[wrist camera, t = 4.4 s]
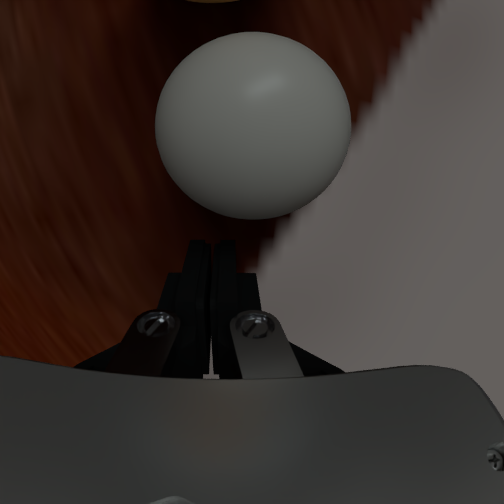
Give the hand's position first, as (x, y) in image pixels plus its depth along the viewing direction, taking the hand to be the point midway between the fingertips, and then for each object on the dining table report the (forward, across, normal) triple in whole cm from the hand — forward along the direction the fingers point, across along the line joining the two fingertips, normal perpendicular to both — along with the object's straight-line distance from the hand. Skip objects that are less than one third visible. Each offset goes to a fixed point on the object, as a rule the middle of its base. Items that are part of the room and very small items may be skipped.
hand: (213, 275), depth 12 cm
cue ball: (-1, -1, -6) cm, 6 cm away
